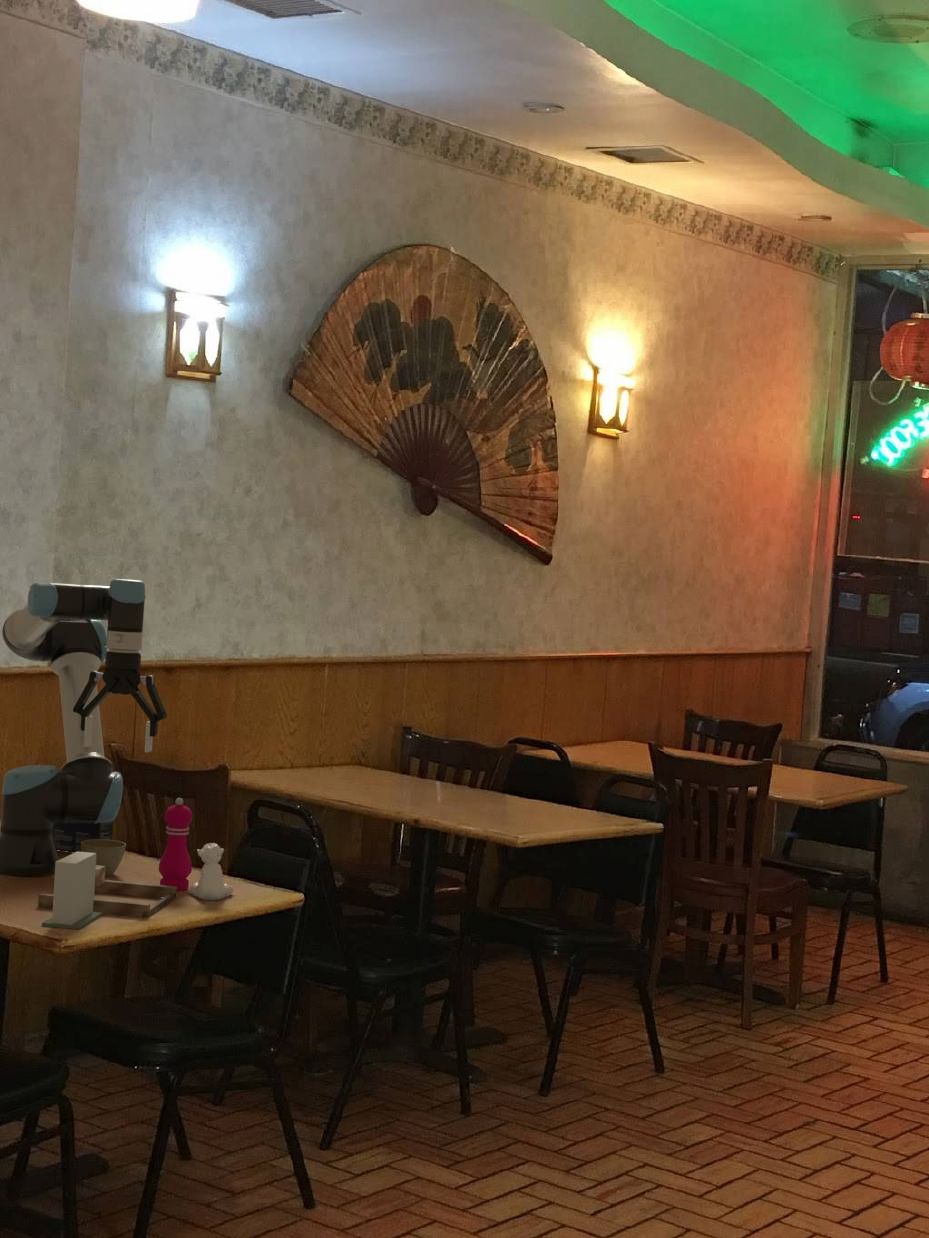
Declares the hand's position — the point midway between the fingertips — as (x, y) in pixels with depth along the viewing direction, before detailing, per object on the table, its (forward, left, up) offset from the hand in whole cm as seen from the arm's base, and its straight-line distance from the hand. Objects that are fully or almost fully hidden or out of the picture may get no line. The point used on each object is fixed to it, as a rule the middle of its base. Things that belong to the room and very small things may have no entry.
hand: (117, 749), depth 357 cm
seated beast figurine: (+22, +2, -31) cm, 38 cm away
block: (+3, -30, -30) cm, 43 cm away
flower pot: (-7, +15, -31) cm, 35 cm away
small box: (-20, +39, -31) cm, 54 cm away
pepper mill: (+12, +8, -31) cm, 34 cm away
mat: (+3, -30, -31) cm, 43 cm away
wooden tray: (+4, -12, -31) cm, 33 cm away
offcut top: (-2, -12, -27) cm, 30 cm away
